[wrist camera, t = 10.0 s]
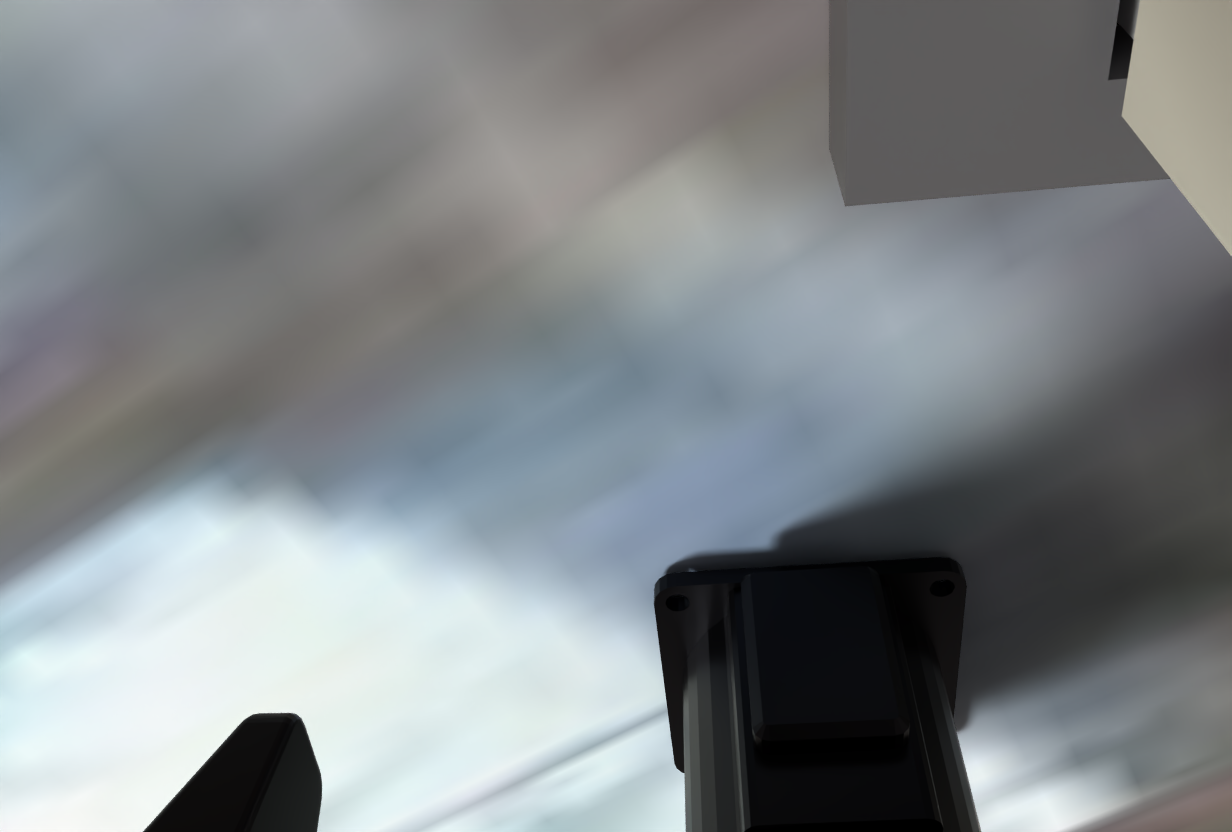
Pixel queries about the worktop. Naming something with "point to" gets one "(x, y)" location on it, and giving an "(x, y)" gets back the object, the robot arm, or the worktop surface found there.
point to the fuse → (1185, 98)
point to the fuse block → (979, 98)
